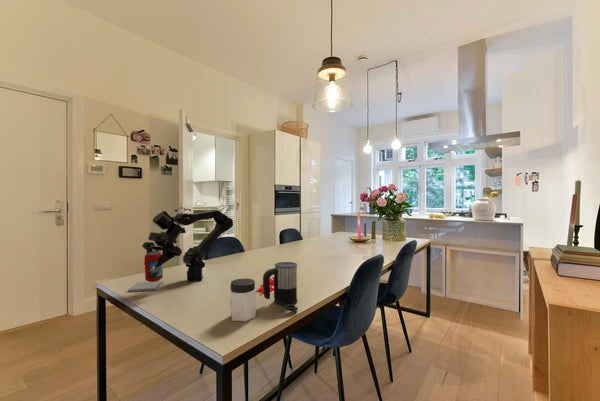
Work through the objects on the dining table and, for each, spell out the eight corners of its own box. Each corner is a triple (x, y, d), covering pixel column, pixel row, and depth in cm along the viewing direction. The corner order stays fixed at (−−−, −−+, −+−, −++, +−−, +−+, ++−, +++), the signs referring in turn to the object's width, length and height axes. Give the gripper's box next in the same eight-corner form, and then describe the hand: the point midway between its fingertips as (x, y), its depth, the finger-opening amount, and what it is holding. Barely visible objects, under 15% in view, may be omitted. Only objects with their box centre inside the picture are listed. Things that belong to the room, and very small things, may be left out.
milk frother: (287, 296, 117) (287, 260, 117) (315, 306, 106) (314, 266, 106) (259, 305, 108) (258, 266, 107) (286, 317, 96) (286, 274, 96)
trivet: (162, 282, 136) (162, 280, 136) (155, 290, 125) (155, 288, 125) (138, 284, 134) (137, 282, 134) (128, 292, 123) (128, 289, 123)
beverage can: (154, 283, 118) (153, 254, 117) (141, 281, 120) (140, 254, 120) (166, 278, 124) (165, 251, 124) (154, 277, 127) (153, 250, 126)
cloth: (271, 299, 116) (270, 293, 116) (241, 295, 120) (241, 289, 120) (293, 281, 140) (293, 276, 140) (268, 278, 145) (268, 274, 145)
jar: (245, 309, 103) (245, 276, 103) (260, 315, 98) (260, 280, 98) (224, 317, 97) (224, 282, 96) (239, 324, 91) (239, 287, 91)
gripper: (144, 224, 128) (122, 253, 119) (175, 225, 121) (154, 257, 112) (160, 238, 136) (140, 267, 126) (190, 240, 129) (171, 271, 119)
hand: (150, 265), depth 121 cm, fingers closed on beverage can, 7 cm apart
